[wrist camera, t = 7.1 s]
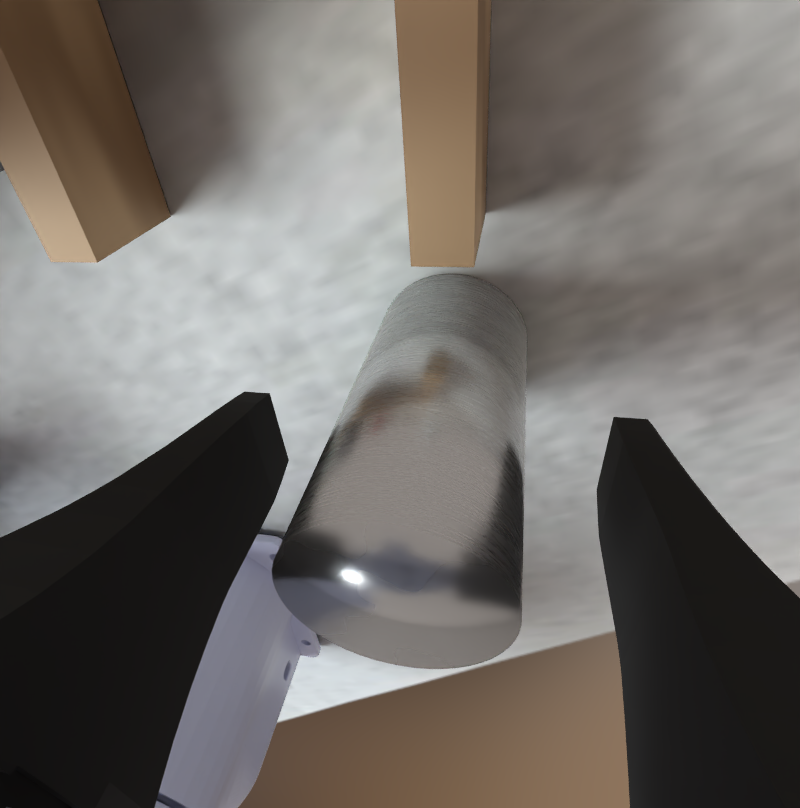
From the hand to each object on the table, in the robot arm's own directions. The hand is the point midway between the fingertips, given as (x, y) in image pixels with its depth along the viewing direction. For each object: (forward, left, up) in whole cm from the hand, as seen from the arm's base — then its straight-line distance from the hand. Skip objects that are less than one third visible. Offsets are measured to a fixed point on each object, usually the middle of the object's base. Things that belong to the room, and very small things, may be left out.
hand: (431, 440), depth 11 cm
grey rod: (0, 0, -4) cm, 4 cm away
